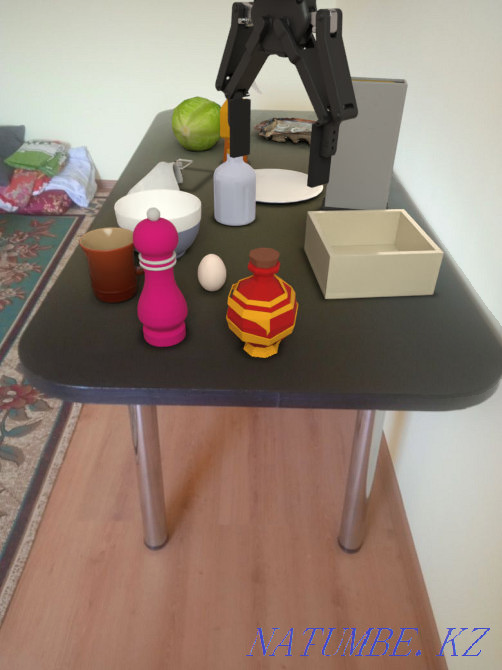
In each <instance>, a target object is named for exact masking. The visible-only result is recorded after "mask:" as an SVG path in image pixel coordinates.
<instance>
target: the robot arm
mask: <svg viewBox="0 0 502 670" xmlns="http://www.w3.org/2000/svg"><path fill="white" fill-rule="evenodd" d="M317 5H318V4H317V0H253V1H234V2H233V3H232V5H231V18H230V27H229V31H228V35H227V38H226V41H225V46H224V49H223V53H222V57H221V60H220V64H219V68H218V71H217V75H216V79H215V83H214V87H215V90H216V91H217V92H221V93H223V95H224V98H225V100H226V99H227V100H228V125H229V127H230V157H231V158H237V157H241V156H246V155H247V156H250V155H251V122H252V121H251V117H252V116H251V114H252V99H250V98H247V97H250V96H251V94H250V92H249V91H250V89H251V87H252V84H253V82H254V80H255V81H256V79H257V77H258V76H259V73H260V72H261V70H262V68H263V67H264V65H265V63H266V62H267V60H268V58H269V57H270V56H275V55H276V56H277V57H279V58H284V59H286V58H287V59H288V61H289V62H290V64H292V65H294V66H295V68H296V72H297V74H298V76H299V78H300V80H301V83H302V85H303V87H304V90H305V92H306V94H307V97H308V99H309V102H310V104H311V106H312V108H313V110H314V113H315V115H316V118H317V120H315V121H316V122H315V123H313V124H312V130H311V142H310V144H309V155H308V156H309V157H308V168H307V174H308V179H307V186H308V187H310V188H314V187H317V186H320V185H323V186H324V185H327V183H329V176H330V167H331V157H332V156H333V155H335V153H336V151H337V143H338V134H339V126H340V124H341V122H343V121H345V120H350V119H354V118H356V117H357V115H358V108H357V103H356V98H355V94H354V89H353V84H352V80H351V77H352V75H351V71H350V66H349V62H348V56H347V53H346V48H345V43H344V39H343V22H344V21H343V20H344V19H343V17H344V15H343V10H342V9H341V8H340V7H339V8H338V7H337V8H336V7H334V8H319V9H318V6H317ZM314 34H315V35H314ZM227 77H229V78H227ZM243 98H245V99H243Z"/></svg>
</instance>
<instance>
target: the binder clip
mask: <svg viewBox="0 0 502 670" xmlns="http://www.w3.org/2000/svg"><path fill="white" fill-rule="evenodd" d="M173 162H175V163H176V164H177V165H178V166H179V169H180V171H181V174H182V175H183V172H182V171H183V170H184V169H185V168H187V167H188V166H189V165H191V164H192V163H193V162H194V161H193V160H192V159H184V158H178V159H177V160H174V161H173ZM183 162H188V163H187V164H185V165H184V166H183Z"/></svg>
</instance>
